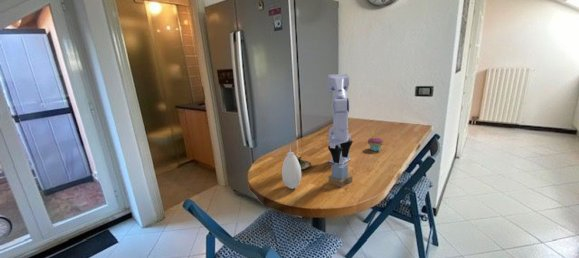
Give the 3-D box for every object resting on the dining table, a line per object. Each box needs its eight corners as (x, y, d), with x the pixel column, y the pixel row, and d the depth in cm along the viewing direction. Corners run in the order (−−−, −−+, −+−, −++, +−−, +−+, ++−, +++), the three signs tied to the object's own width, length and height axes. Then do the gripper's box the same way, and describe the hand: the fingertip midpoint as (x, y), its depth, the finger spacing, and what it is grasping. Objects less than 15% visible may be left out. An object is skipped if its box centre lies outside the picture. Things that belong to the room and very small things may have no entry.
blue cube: (337, 172, 110) (337, 162, 109) (347, 175, 107) (347, 164, 106) (331, 176, 106) (331, 165, 105) (342, 179, 103) (342, 168, 102)
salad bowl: (290, 173, 118) (290, 159, 116) (284, 165, 129) (283, 151, 127) (314, 170, 121) (314, 155, 119) (306, 161, 132) (306, 148, 130)
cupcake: (367, 151, 141) (368, 131, 138) (367, 147, 149) (367, 127, 146) (384, 152, 139) (385, 131, 136) (382, 147, 147) (383, 127, 144)
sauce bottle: (287, 182, 109) (284, 142, 104) (304, 184, 106) (302, 144, 102) (279, 190, 102) (277, 148, 97) (298, 193, 99) (296, 150, 95)
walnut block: (339, 177, 112) (339, 171, 111) (352, 182, 107) (352, 176, 106) (328, 182, 107) (328, 176, 107) (341, 188, 102) (341, 181, 102)
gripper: (340, 123, 109) (340, 153, 113) (322, 131, 98) (323, 163, 102) (355, 125, 105) (354, 155, 108) (339, 133, 94) (339, 167, 97)
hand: (340, 159), depth 105 cm, fingers open, 7 cm apart
